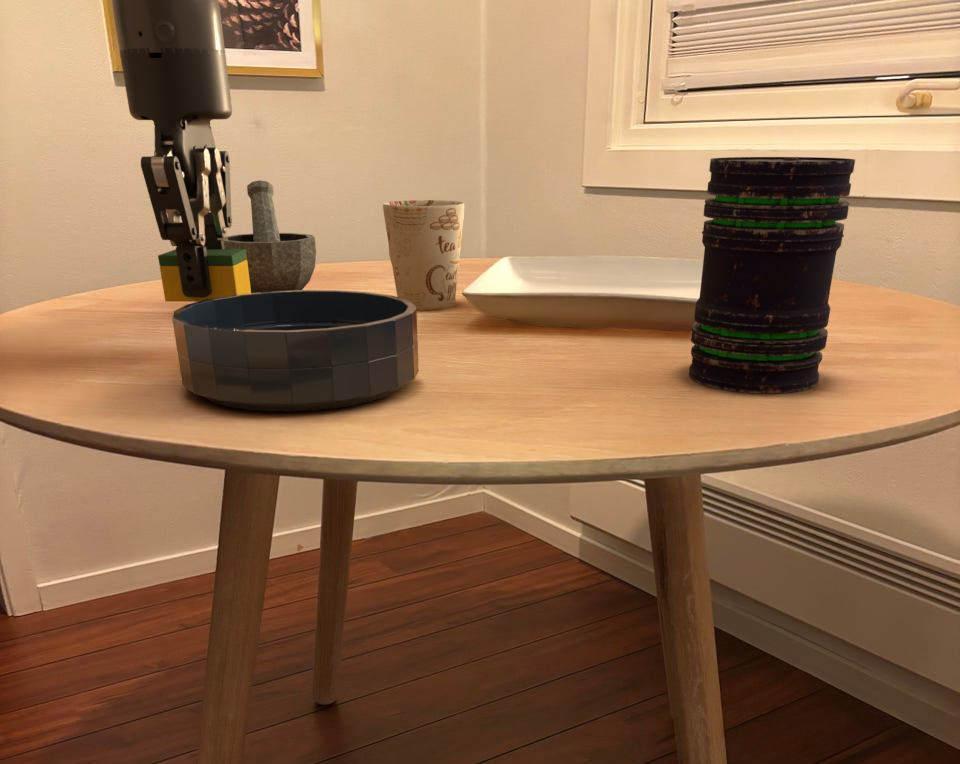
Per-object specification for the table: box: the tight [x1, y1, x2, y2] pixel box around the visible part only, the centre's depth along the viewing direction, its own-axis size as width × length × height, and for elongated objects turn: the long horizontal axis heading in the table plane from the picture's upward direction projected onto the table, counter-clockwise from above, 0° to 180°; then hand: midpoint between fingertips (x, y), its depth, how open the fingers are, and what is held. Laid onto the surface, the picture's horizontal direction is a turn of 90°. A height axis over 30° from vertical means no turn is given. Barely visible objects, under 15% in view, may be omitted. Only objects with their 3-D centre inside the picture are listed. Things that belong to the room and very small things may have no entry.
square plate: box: [461, 255, 704, 332], centre depth 97 cm, size 27×27×4 cm
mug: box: [382, 199, 465, 311], centre depth 101 cm, size 8×13×10 cm, turn 33°
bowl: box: [171, 289, 420, 412], centre depth 70 cm, size 17×17×6 cm
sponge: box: [157, 248, 251, 303], centre depth 77 cm, size 6×4×4 cm, turn 86°
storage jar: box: [688, 156, 856, 394], centre depth 69 cm, size 10×10×15 cm
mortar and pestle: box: [222, 179, 317, 293], centre depth 98 cm, size 11×9×12 cm
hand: (206, 290), depth 78 cm, fingers closed on sponge, 4 cm apart
